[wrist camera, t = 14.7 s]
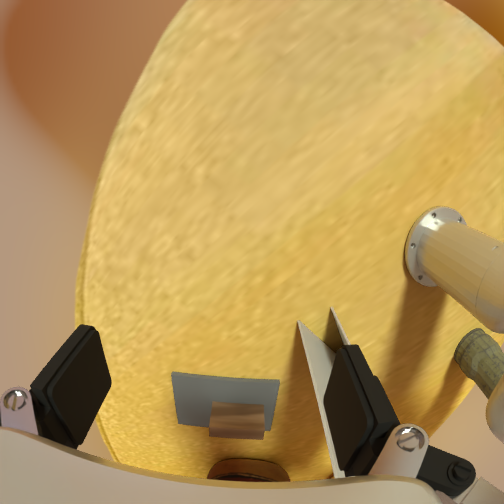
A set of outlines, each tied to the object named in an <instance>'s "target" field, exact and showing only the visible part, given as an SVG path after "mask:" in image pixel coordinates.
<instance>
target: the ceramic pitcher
mask: <svg viewBox="0 0 504 504" xmlns="http://www.w3.org/2000/svg"><path fill="white" fill-rule="evenodd" d="M207 479H212V480H224V481H240V482H290V478H289V476H288V474H287V472H286V471H285V470H284V469H283V468H281V467H280V466H278V465H276V464H274V463H270V462H266V461H260V460H249V459H229V460H224V461H220V462H218V463H217V464H215V465H214V466H213V467H212V469H211V470H210V472H209V474H208V476H207Z"/></svg>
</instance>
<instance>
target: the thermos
mask: <svg viewBox="0 0 504 504" xmlns="http://www.w3.org/2000/svg"><path fill="white" fill-rule="evenodd" d="M454 359H455V361H456V362H457V363H458V364H459V365H460V368H461V369H462V371H463V372H464V373H465V375H466V376H467V377H468V378H470V379H472V380H474V381H475V383H476V384H477V385H478V387H479V388H480V389H481V390H482V392H483V393H484V394H485V396H486V397H487V398H488V400H489V398H490V396H491V394H492V392H493V390H494V389H495V387H496V385H497V384H498V382H499V380H500V378H501V377H502V375H503V373H504V353H503V352H502V350H501V348H500V346H499V345H498V343H497V342H496V341H495V340H494V339H493V338H492V337H491V336H489V335H488V334H486V333H485V332H484V331H483V330H482V329H480V328H477V329H474V330H472V331H470V332H469V333H467V334H466V335H465V336H464V337H463V339H462V340H461V341H460V343H459V344H458V346H457V348H456V350H455V354H454Z"/></svg>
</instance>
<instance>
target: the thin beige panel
mask: <svg viewBox="0 0 504 504" xmlns="http://www.w3.org/2000/svg"><path fill="white" fill-rule="evenodd" d="M330 308H331V310H332V313H333V316H334V319H335V321H336V324H337V327H338V330H339V333H340V336H341V339H342V341H343V344H344V345H351V344H350V342H349V340H348V338H347V336H346V334H345V332H344V330H343V328H342V325H341V323H340V321H339V319H338V317H337V315H336V313H335V311H334V309H333V307H330ZM297 322H298V326H299V329H300V333H301V337H302V341H303V345H304V349H305V353H306V357H307V361H308V365H309V369H310V373H311V377H312V381H313V385H314V389H315V394H316V398H317V402H318V406H319V410H320V415H321V419H322V423H323V428H324V432H325V436H326V441H327V445H328V450H329V454H330V459H331V463H332V468H333V472H334V477H335V478H344V477H345V474H344V471H340V469H339V467H338V462H337V458H336V454H335V450H334V445H333V441H332V437H331V433H330V429H329V425H328V421H327V417H326V413H325V409H324V405H323V398H324V394H325V391H326V388H327V384H328V381H329V377H330V374H331V370H332V367H333V363H334V360H335V356H336V353H335V352H334V351H332V350H331V349H330V348H329V347H328V346H327V345H326V344H325V343H324V342H322V341H321V340H320V339H319V338H318V337H317V336H316V335H315V334H314V333H313V332H312V331H310V330H309V329H308V328H307V327H306V326H305V325H304V324H303V323H302V322H301V321H300V320H298V321H297ZM352 477H355V476H352Z"/></svg>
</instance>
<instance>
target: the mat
mask: <svg viewBox="0 0 504 504" xmlns="http://www.w3.org/2000/svg"><path fill="white" fill-rule="evenodd" d="M171 376H172V384H173V392H174V399H175V406H176V412H177V418H178V424H184V425H191V426H200V427H209V423H210V416H211V409H212V401H215V402H226V403H241V404H262V405H264V422H265V431H270V430H271V425H272V420H273V415H274V410H275V405H276V400H277V395H278V389H279V384H280V381H279V380H268V379H245V378H230V377H217V376H206V375H197V374H188V373H180V372H172V374H171Z"/></svg>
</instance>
